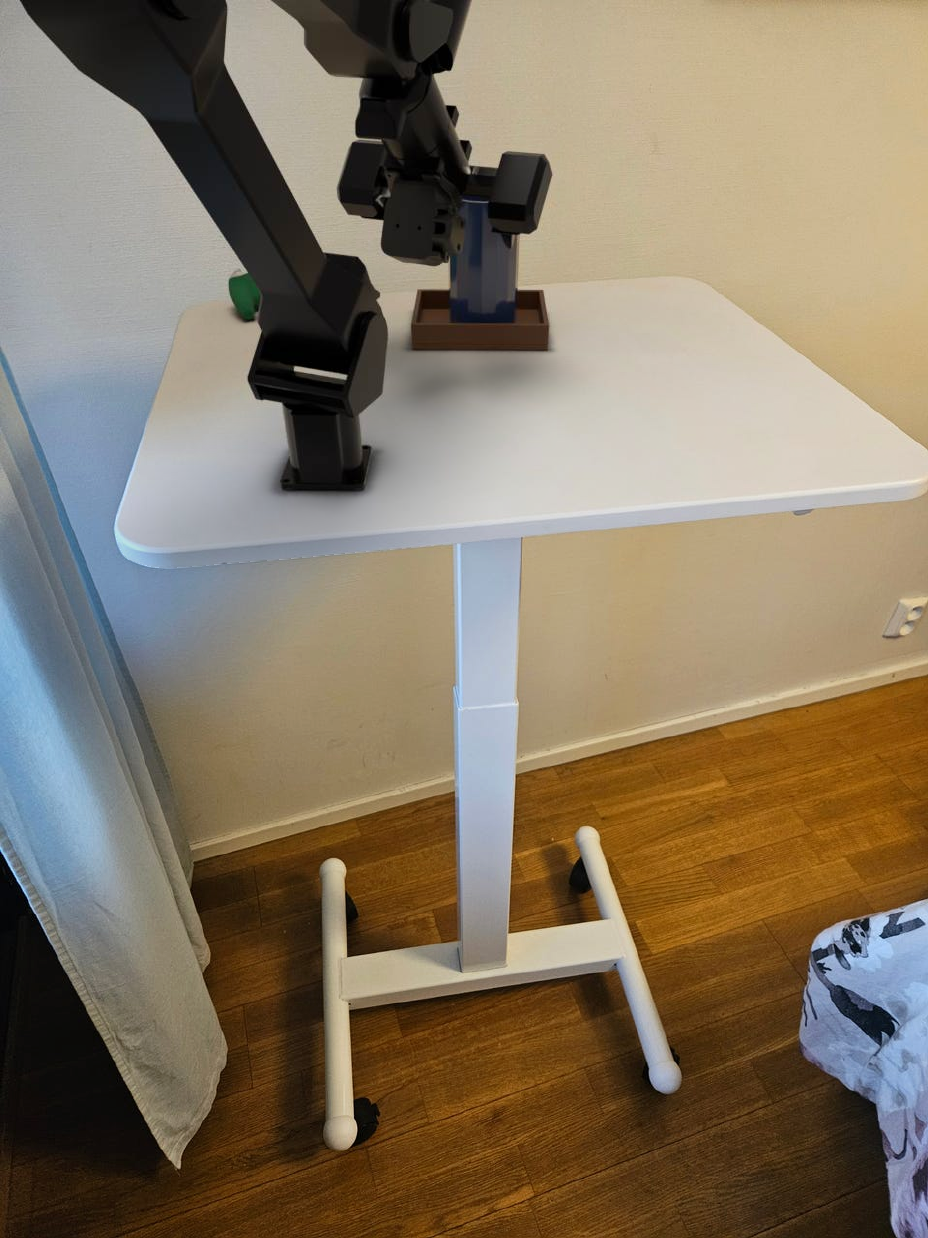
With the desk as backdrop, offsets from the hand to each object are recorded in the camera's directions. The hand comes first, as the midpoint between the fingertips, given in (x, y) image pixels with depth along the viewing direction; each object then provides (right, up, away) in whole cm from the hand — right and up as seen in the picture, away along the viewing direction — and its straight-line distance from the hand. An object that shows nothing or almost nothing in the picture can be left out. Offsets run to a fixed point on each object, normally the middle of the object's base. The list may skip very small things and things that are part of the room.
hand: (466, 239), depth 83 cm
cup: (+2, -6, +8) cm, 10 cm away
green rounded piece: (-22, -1, +15) cm, 27 cm away
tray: (+1, -6, +9) cm, 11 cm away
